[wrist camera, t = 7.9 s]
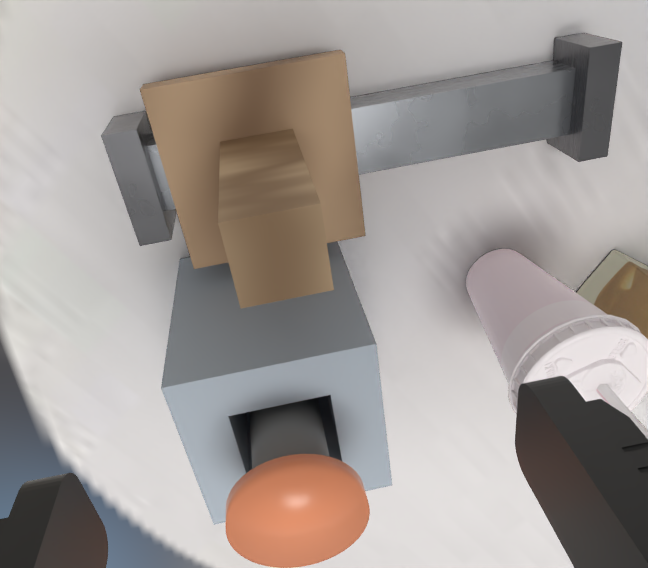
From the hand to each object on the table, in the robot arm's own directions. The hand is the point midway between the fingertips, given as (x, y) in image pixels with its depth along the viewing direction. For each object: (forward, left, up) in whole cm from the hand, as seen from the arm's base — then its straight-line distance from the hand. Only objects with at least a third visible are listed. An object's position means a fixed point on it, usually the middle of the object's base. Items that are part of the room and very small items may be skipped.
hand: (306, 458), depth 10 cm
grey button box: (+1, +9, -19) cm, 21 cm away
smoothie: (-12, +10, -19) cm, 25 cm away
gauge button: (+1, +9, -12) cm, 15 cm away
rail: (-5, 0, -19) cm, 20 cm away
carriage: (0, 0, -19) cm, 19 cm away
